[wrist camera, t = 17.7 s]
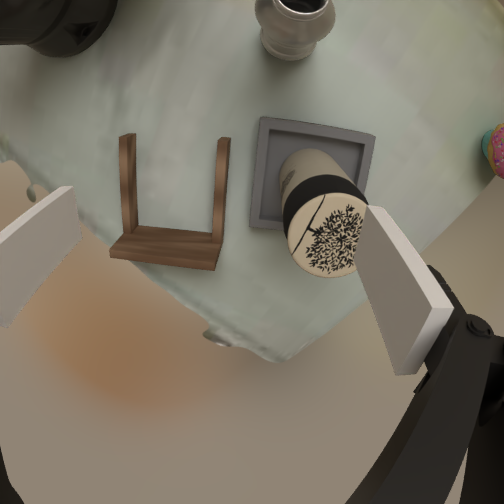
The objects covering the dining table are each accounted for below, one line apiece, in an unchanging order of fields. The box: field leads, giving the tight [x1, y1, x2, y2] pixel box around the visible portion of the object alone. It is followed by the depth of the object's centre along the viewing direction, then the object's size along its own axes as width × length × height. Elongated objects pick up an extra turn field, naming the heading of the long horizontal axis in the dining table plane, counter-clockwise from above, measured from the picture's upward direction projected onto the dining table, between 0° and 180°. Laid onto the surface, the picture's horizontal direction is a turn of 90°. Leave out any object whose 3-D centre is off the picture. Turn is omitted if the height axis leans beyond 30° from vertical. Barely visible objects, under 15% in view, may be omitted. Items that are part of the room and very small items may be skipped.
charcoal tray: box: [249, 117, 376, 231], centre depth 40 cm, size 14×14×2 cm
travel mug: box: [279, 148, 369, 278], centre depth 32 cm, size 8×8×18 cm
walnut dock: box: [109, 134, 231, 271], centre depth 39 cm, size 15×14×8 cm
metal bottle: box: [255, 0, 336, 61], centre depth 23 cm, size 6×7×20 cm
